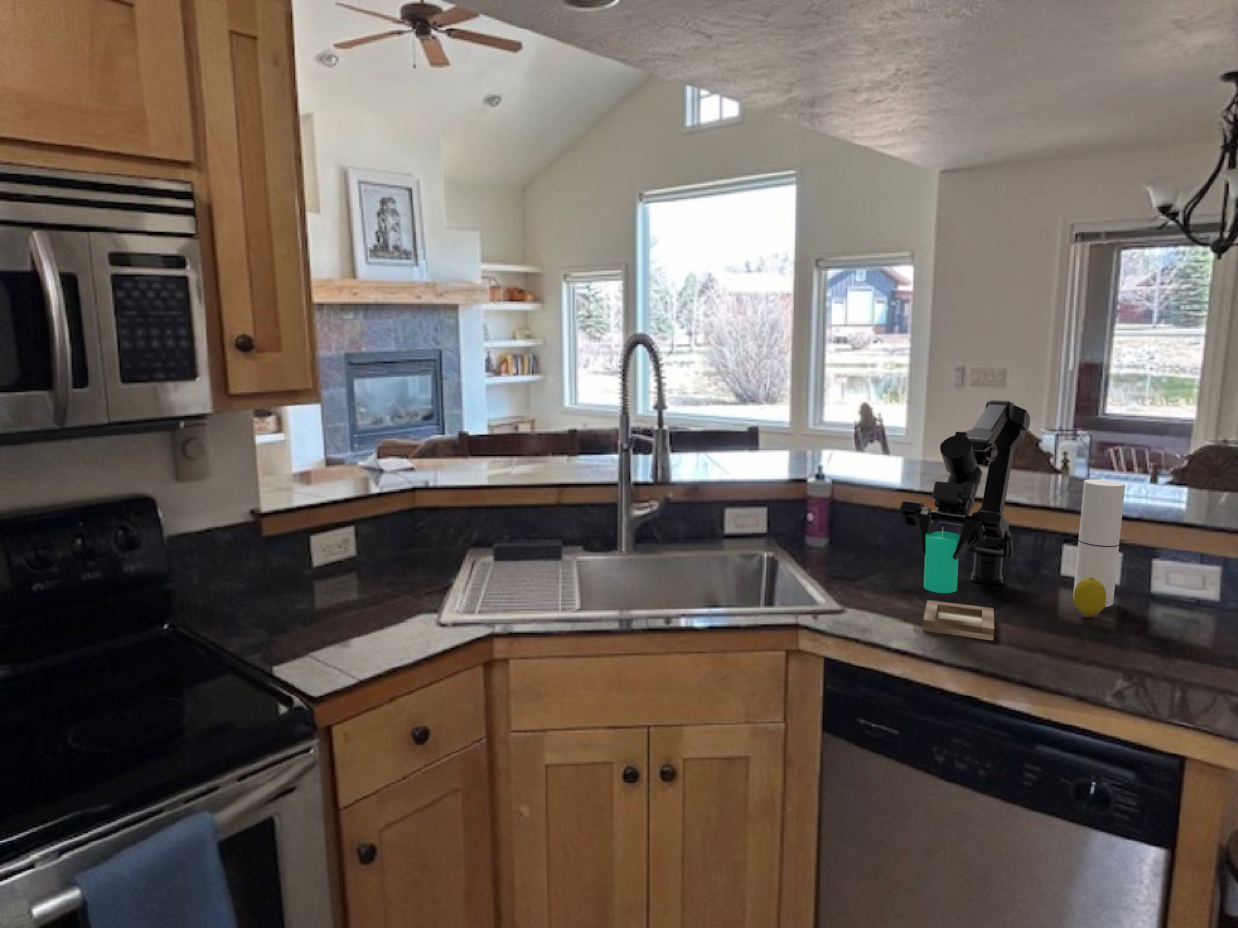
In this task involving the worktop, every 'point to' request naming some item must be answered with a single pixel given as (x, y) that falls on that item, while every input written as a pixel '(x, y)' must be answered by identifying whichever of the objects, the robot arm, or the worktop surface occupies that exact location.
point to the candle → (941, 562)
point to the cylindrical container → (1100, 533)
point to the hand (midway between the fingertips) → (938, 555)
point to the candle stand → (959, 620)
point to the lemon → (1089, 596)
